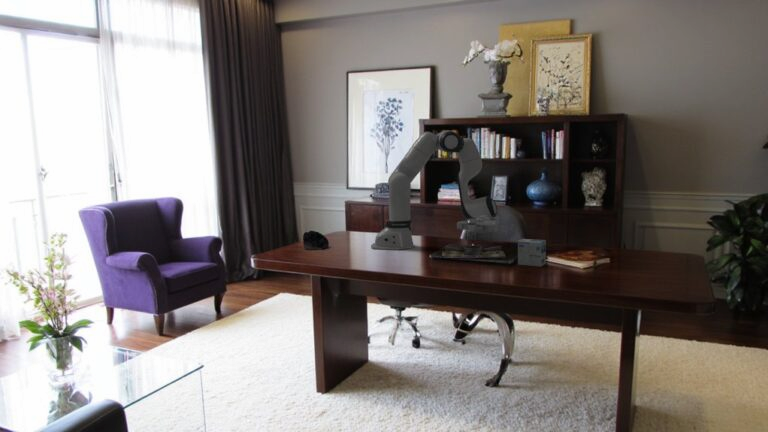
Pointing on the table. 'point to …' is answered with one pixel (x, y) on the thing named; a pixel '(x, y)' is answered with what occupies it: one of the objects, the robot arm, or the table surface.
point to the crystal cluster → (315, 240)
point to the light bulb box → (532, 252)
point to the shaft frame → (473, 251)
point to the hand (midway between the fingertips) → (470, 228)
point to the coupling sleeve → (471, 229)
